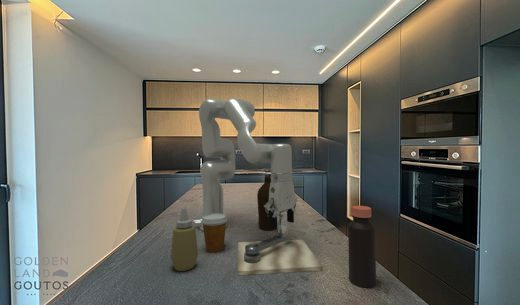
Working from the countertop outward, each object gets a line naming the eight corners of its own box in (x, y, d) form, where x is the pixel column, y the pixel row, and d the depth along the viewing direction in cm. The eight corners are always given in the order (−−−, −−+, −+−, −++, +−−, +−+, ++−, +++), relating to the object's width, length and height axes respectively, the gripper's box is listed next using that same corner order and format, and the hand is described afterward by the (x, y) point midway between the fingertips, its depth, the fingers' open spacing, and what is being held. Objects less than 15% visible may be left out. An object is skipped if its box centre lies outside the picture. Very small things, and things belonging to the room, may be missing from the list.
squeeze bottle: (183, 276, 68) (182, 213, 68) (165, 269, 72) (164, 210, 72) (203, 264, 75) (203, 207, 75) (186, 259, 79) (185, 205, 79)
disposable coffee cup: (218, 241, 94) (217, 211, 94) (233, 248, 87) (232, 216, 87) (196, 248, 87) (196, 216, 87) (210, 256, 81) (210, 221, 81)
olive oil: (255, 230, 107) (254, 175, 107) (259, 223, 118) (259, 173, 118) (278, 231, 105) (278, 175, 105) (281, 224, 116) (280, 173, 116)
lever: (251, 257, 72) (251, 219, 72) (242, 252, 76) (242, 216, 76) (290, 240, 86) (290, 208, 86) (281, 237, 89) (280, 206, 89)
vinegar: (382, 285, 62) (381, 209, 62) (360, 290, 60) (359, 211, 60) (363, 273, 69) (363, 204, 69) (343, 277, 67) (342, 205, 67)
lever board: (238, 275, 68) (238, 264, 68) (238, 245, 90) (237, 237, 90) (322, 270, 71) (322, 260, 71) (302, 242, 92) (302, 234, 92)
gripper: (273, 180, 77) (273, 233, 77) (303, 176, 90) (304, 221, 90) (257, 179, 83) (257, 228, 83) (287, 175, 95) (288, 218, 95)
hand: (281, 224), depth 86 cm, fingers open, 9 cm apart
